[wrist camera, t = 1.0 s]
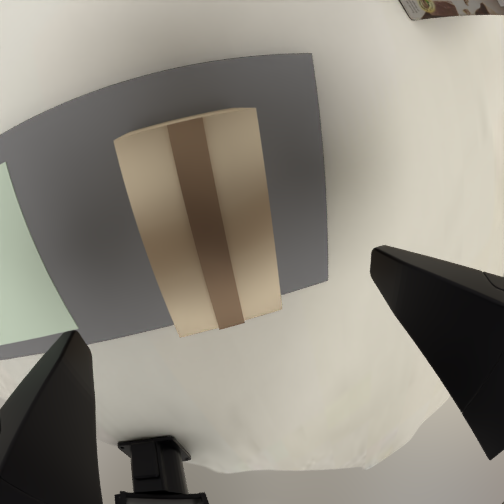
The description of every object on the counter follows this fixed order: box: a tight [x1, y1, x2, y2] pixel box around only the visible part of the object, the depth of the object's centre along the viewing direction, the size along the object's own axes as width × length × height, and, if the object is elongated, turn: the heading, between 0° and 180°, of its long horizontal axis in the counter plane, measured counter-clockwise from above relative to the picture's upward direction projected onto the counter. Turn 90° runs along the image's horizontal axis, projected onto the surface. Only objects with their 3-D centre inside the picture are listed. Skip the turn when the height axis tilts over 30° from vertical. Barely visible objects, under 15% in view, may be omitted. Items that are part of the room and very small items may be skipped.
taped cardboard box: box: [114, 108, 282, 338], centre depth 13 cm, size 9×5×4 cm, turn 9°
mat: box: [0, 53, 328, 360], centre depth 14 cm, size 14×28×1 cm, turn 99°
